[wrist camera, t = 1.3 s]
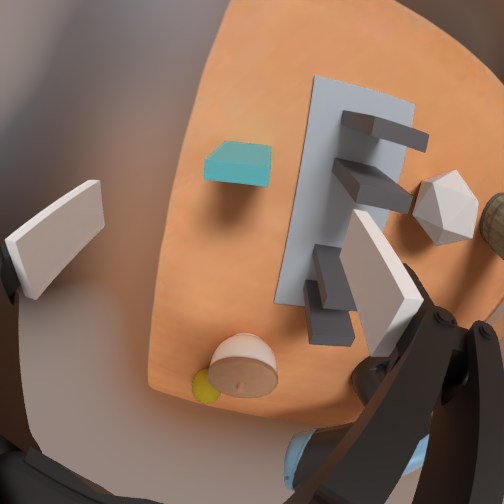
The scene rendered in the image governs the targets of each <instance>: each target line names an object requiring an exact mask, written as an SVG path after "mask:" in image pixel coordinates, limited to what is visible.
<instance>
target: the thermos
mask: <svg viewBox="0 0 504 504" xmlns="http://www.w3.org/2000/svg"><path fill="white" fill-rule="evenodd" d="M480 232H481V235H482V237H483V239H484V240H485V241H486V242H487V243H488V244H490V246H491V248H492V249H493V250H494V251H495V252H496V253H497V254H498V255H499V256H500V257H501V258H502V259H503V260H504V193H498V194H496V195H495V196H493V197H492V198H491V199H490V200H489V202H488V203H487V205H486V206H485V208H484V210H483V213H482V216H481V222H480Z"/></svg>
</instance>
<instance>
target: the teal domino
mask: <svg viewBox="0 0 504 504" xmlns="http://www.w3.org/2000/svg"><path fill="white" fill-rule="evenodd" d="M270 169H271V146H267V145H259V144H251V143H242V142H232V141H225V142H224V143H223V144H222V145H221V146H219V147H218V148H217V149H216V150H215V151H214V152H213V153H212V154H211V155H210V156H209V157H208V158H207V159H205V168H204V180H213V181H222V182H231V183H240V184H248V185H256V186H264V187H268V183H269V176H270Z"/></svg>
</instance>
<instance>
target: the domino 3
mask: <svg viewBox="0 0 504 504" xmlns="http://www.w3.org/2000/svg"><path fill="white" fill-rule="evenodd" d="M341 124H343V125H345V126H348V127H350V128H353V129H355V130H358V131H360V132H363V133H365V134H368V135H370V136H373V137H376V138H380V139H384V140H387V141H390V142H394V143H397V144H400V145H403V146H407V147H410V148H413V149H416V150H418V151H421V152H424V153H425V152H426V147H427V143H428V138H429V134H427V133H424V132H422V131H419V130H416V129H413V128H411V127H408V126H405V125H402V124H399V123H396V122H393V121H390V120H387V119H383V118H380V117H377V116H373V115H368V114H363V113H357V112H352V111H346V110H343V113H342V119H341Z"/></svg>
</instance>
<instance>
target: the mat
mask: <svg viewBox="0 0 504 504" xmlns="http://www.w3.org/2000/svg"><path fill="white" fill-rule="evenodd" d="M343 110H346V111H352V112H357V113H363V114H368V115H373V116H377V117H380V118H383V119H387V120H390V121H393V122H396V123H399V124H402V125H405V126H408V127H411V126H412V121H413V116H414V110H415V104H413V103H410V102H407V101H405V100H402V99H399V98H396V97H394V96H391V95H388V94H385V93H381V92H378V91H375V90H372V89H368V88H365V87H361V86H358V85H354V84H350V83H346V82H342V81H338V80H334V79H330V78H325V77H320V76H314V83H313V90H312V97H311V104H310V111H309V117H308V123H307V130H306V136H305V142H304V148H303V154H302V160H301V166H300V172H299V177H298V183H297V189H296V194H295V200H294V205H293V210H292V216H291V221H290V226H289V231H288V236H287V242H286V247H285V252H284V257H283V262H282V266H281V271H280V276H279V281H278V286H277V290H276V295H275V300H274V303H278V304H286V305H295V306H305V301H304V293H303V287H304V283H305V280H306V279H307V280H315V281H317V276H316V271H315V266H314V261H313V257H312V253H313V249H314V245H315V244H319V245H326V246H333V247H340V248H342V246H343V243H344V240H345V236H346V233H347V230H348V226H349V223H350V219H351V216H352V212H353V209H356V210H361V211H366V212H368V214H369V215H370V216H371V218H372V219H373V220H374V222H375V223H376V225H377V226H378V228H379V229H380V231H381V232H382V233H383V231H384V228H385V225H386V222H387V219H388V215H389V212H390V210H387V209H382V208H377V207H373V206H368V205H363V204H358V203H355V202H354V200H353V199H352V197H351V196H350V195H349V193H348V192H347V191H346V189H345V188H344V187H343V185H342V184H341V183H340V181H339V180H338V179H337V177H336V176H335V175H334V173H333V172H332V167H333V162H334V157H335V158H340V159H344V160H349V161H353V162H358V163H362V164H366V165H371V166H375V167H376V168H378V169H379V170H380V171H382V172H383V173H384V174H386V175H387V176H388V177H389V178H391V179H392V180H393V181H394V182H396V183H397V184H398V181H399V178H400V174H401V170H402V166H403V162H404V158H405V154H406V150H407V146H403V145H400V144H397V143H394V142H390V141H387V140H384V139H380V138H376V137H373V136H370V135H368V134H365V133H363V132H360V131H358V130H355V129H353V128H350V127H348V126H345V125H343V124H341V119H342V113H343Z"/></svg>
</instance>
